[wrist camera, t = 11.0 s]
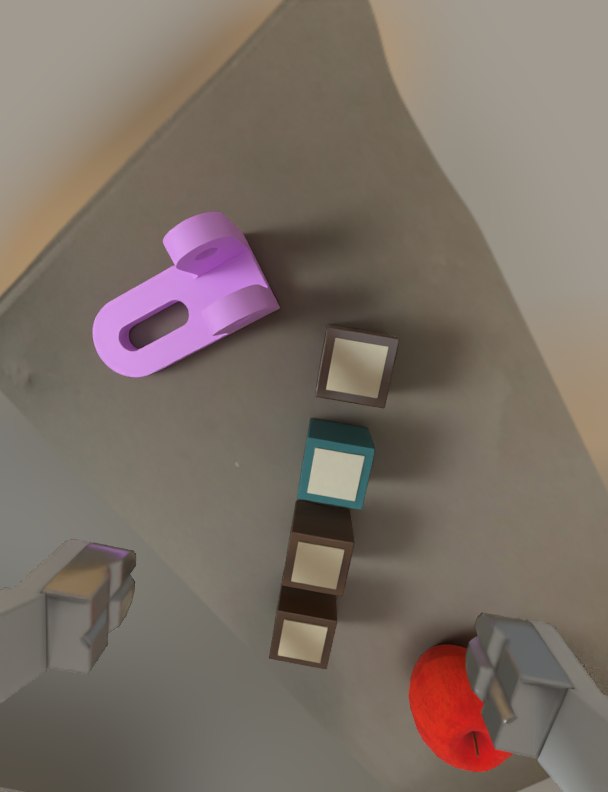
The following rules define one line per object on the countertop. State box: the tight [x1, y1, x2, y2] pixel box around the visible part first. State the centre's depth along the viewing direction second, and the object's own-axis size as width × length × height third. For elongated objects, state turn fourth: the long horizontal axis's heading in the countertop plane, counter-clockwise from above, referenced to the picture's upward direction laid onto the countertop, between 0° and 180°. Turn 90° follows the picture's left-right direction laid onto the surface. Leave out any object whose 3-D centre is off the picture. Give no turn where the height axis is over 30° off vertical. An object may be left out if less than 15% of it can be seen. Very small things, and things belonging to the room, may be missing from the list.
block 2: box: [269, 572, 337, 669], centre depth 29 cm, size 4×4×4 cm
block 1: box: [282, 501, 354, 596], centre depth 28 cm, size 4×4×4 cm
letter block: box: [297, 418, 375, 510], centre depth 26 cm, size 4×4×4 cm
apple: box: [409, 644, 513, 772], centre depth 28 cm, size 8×8×7 cm
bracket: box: [93, 211, 280, 377], centre depth 23 cm, size 13×6×7 cm, turn 116°
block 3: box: [315, 324, 400, 408], centre depth 25 cm, size 4×4×4 cm
